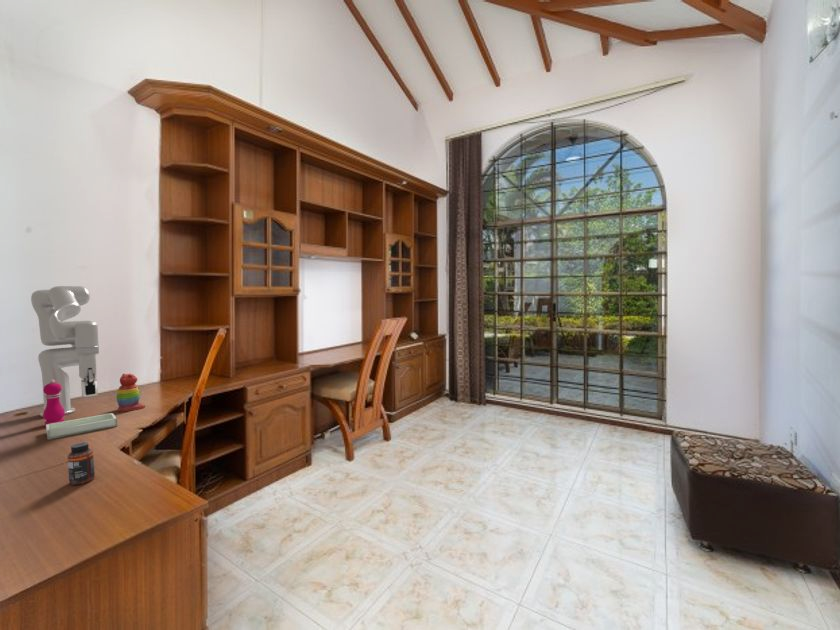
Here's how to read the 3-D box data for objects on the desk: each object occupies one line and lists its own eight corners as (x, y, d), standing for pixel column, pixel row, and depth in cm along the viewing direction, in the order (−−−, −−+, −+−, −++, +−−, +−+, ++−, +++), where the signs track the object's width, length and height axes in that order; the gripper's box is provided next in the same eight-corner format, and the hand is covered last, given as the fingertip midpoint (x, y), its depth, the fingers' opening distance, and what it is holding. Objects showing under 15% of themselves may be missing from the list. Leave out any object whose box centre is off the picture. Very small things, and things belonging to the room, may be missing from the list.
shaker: (81, 395, 170) (80, 379, 170) (96, 393, 174) (95, 377, 174) (82, 397, 167) (81, 381, 166) (98, 395, 170) (97, 379, 170)
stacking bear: (146, 407, 202) (145, 372, 201) (124, 412, 193) (122, 376, 192) (134, 405, 207) (133, 371, 206) (112, 410, 198) (110, 374, 197)
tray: (46, 432, 165) (46, 424, 165) (112, 420, 180) (112, 412, 180) (47, 439, 156) (47, 431, 156) (117, 426, 172) (116, 418, 172)
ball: (84, 376, 170) (89, 370, 170) (93, 378, 172) (97, 372, 172) (85, 381, 168) (89, 375, 168) (93, 382, 170) (98, 377, 170)
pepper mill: (52, 427, 172) (49, 381, 171) (39, 426, 174) (36, 381, 173) (69, 422, 179) (67, 378, 178) (57, 421, 181) (54, 377, 180)
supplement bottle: (92, 474, 124) (90, 439, 124) (97, 480, 121) (95, 443, 120) (67, 482, 120) (64, 445, 119) (71, 487, 116) (69, 449, 116)
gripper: (73, 350, 172) (75, 391, 173) (78, 354, 161) (80, 398, 161) (95, 348, 178) (97, 388, 179) (101, 352, 166) (104, 395, 167)
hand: (89, 392), depth 170 cm, fingers closed on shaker, 5 cm apart
